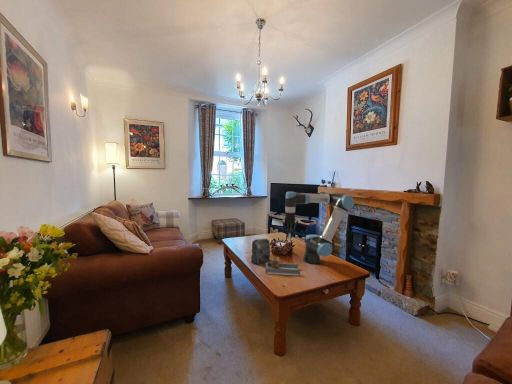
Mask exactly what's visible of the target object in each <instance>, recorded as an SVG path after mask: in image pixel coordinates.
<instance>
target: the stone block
mask: <svg viewBox="0 0 512 384" xmlns="http://www.w3.org/2000/svg"><path fill="white" fill-rule="evenodd" d="M270 244H271V243H270V240H269V239H268V238H256V239H254V240H252V242H251V257H250V259H251V264H254V265H255V264H256V265H261V264H264V263H266V262H268V261H270V258H271V249H270V248H271V245H270Z"/></svg>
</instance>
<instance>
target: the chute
mask: <svg viewBox="0 0 512 384" xmlns="http://www.w3.org/2000/svg"><path fill="white" fill-rule="evenodd" d="M265 274H266V275H267V274H269V275H282V276H283V275H284V276H285V275H286V276H300V269H299V264H298V263H293V262H292V263H291V262H290V263H288V262H279V268H271V261H269V262H268V261H266V262H265Z"/></svg>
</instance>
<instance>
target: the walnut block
mask: <svg viewBox="0 0 512 384" xmlns="http://www.w3.org/2000/svg"><path fill="white" fill-rule="evenodd" d="M270 258H271V261H270V262H271V268H279V263H280V257H279V256H270Z"/></svg>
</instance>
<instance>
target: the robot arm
mask: <svg viewBox="0 0 512 384" xmlns="http://www.w3.org/2000/svg"><path fill="white" fill-rule="evenodd" d="M284 198H285V207H284V209H285V210H284V212H285V213H284V219H282V220H281V223H282V226H283V229H284V230H283V231H284V233H285V234H286V238H287V239H288V240H287V241H288V242H287V243H291V239H292V238H293V234H295V231H296V229H297V226H298V224H299V220H296V205H307V204H309V203H313V204H314V203H316V204H324V205H328V206H332V207H333V210H332V212H331V215H330V217H329V220H328V221H327V222H326V225H325V228H324V230H323V232H322V233H321V234H320V235H318V234H307V235H305V244H304V245H305V247H304V248H305V249H304V254H303V256H302V261H303V262H304V263H306V264H310V265H318V264H320V263H321V257H327V256H330V255H331V254H332V252H333V249H334V248H333V246H332V245H333V241H332V240H333V238H334V235H335V234H336V232H337V229H338V228H339V225H340V223H341V221H342V219H343V217H344V215H345V214H347V213H348V211H349V210H352V209H353V208H354V205H355V201H354V198H353V196H351V195H349V194H347V193H346V194H343V193H337V192H335V193H323V194H320V193H307V192H306V193H305V192H295V191H287V192H286V193H285V197H284ZM285 222H286V224H285ZM293 224H294V225H293ZM293 226H294V227H293Z"/></svg>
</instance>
